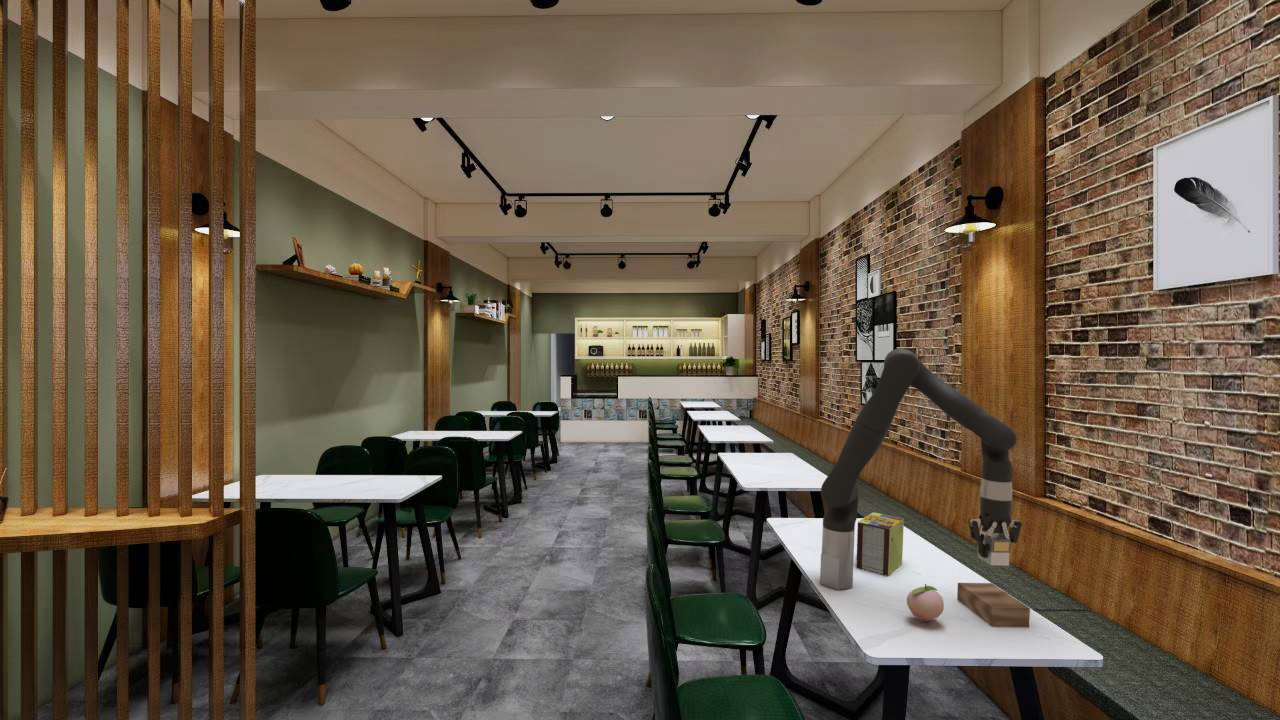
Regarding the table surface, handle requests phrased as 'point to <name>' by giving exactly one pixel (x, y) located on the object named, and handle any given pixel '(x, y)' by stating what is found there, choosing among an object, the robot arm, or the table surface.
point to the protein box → (880, 543)
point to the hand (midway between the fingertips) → (993, 556)
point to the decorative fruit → (925, 603)
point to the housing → (997, 550)
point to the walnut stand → (993, 605)
